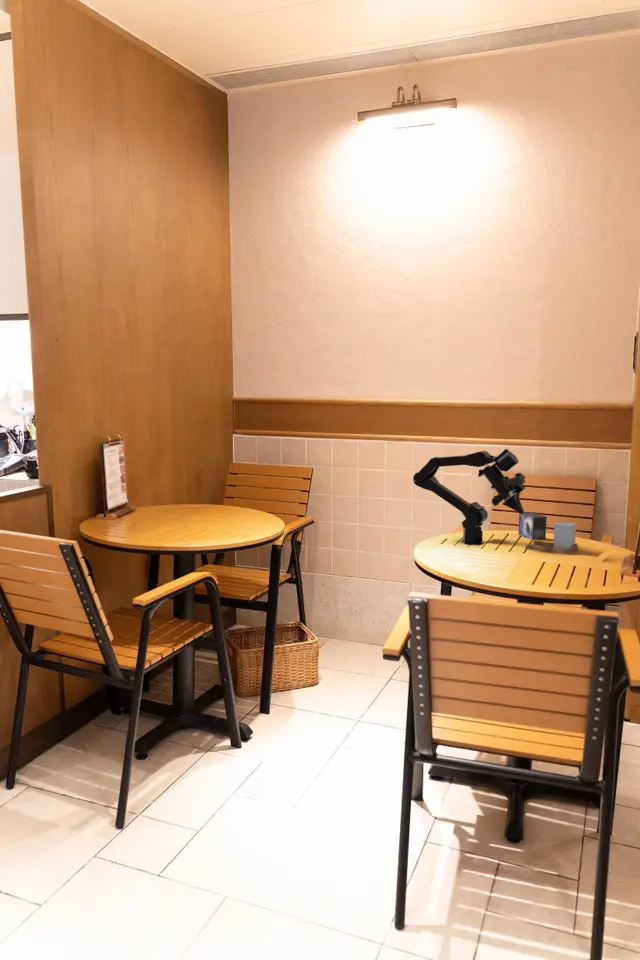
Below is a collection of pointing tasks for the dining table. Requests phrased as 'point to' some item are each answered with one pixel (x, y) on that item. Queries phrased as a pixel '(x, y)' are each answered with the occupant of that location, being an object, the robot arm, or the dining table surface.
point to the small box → (532, 526)
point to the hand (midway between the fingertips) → (522, 513)
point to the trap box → (550, 547)
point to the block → (564, 535)
